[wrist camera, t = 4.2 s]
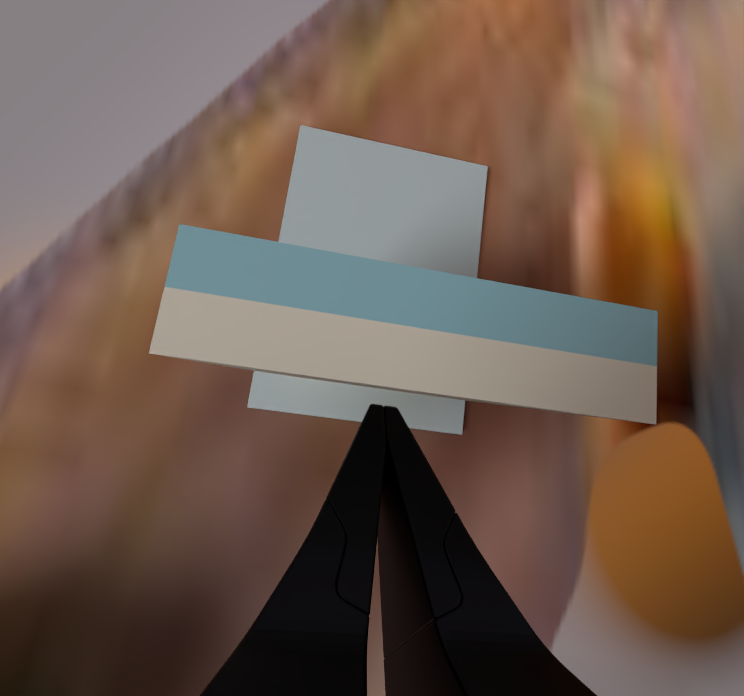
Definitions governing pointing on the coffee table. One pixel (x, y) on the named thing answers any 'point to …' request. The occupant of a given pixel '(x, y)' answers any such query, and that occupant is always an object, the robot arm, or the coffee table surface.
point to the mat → (377, 249)
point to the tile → (403, 328)
